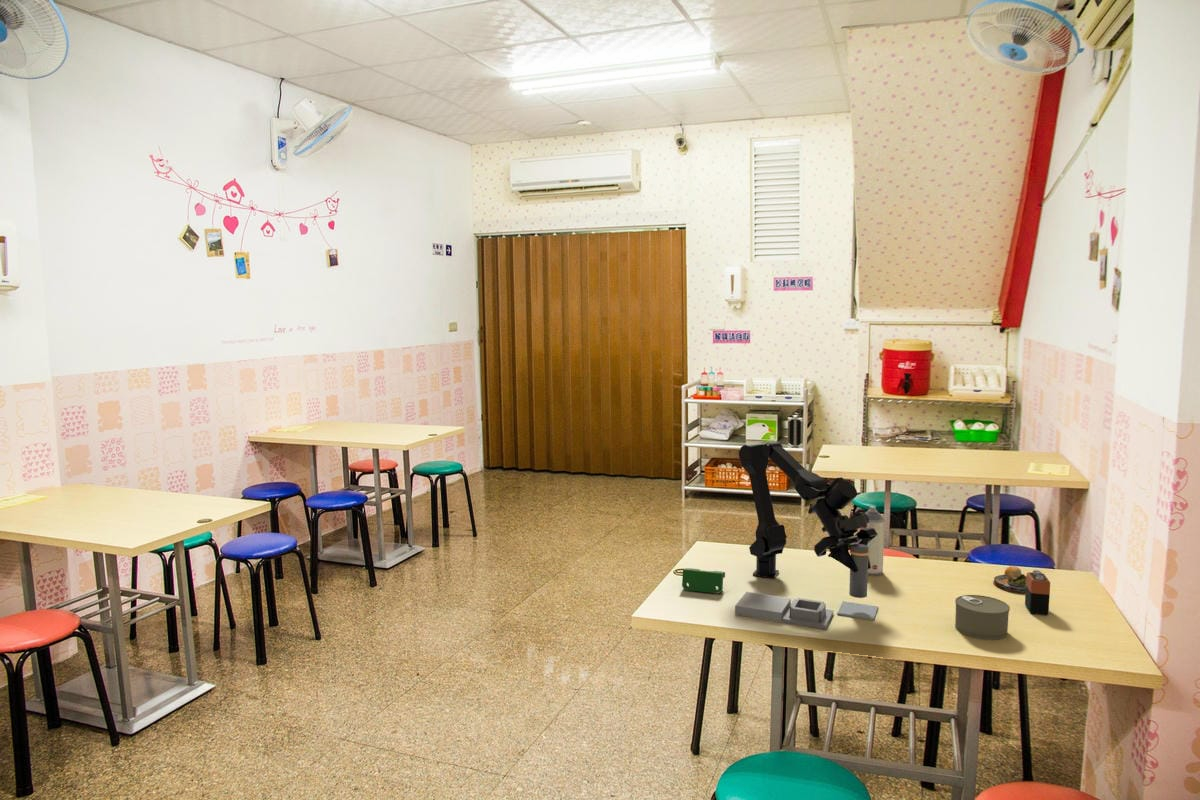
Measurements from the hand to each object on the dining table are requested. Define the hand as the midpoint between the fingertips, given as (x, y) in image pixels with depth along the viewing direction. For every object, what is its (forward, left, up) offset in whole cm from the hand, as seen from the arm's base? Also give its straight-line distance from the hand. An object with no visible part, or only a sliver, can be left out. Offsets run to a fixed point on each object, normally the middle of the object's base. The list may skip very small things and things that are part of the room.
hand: (863, 570), depth 204 cm
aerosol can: (-35, -2, -12) cm, 37 cm away
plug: (-1, -1, -7) cm, 7 cm away
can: (-1, +28, -12) cm, 30 cm away
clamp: (0, -43, -12) cm, 45 cm away
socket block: (+9, -18, -12) cm, 23 cm away
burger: (-39, +37, -12) cm, 55 cm away
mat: (-1, -1, -12) cm, 12 cm away
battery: (-21, +41, -12) cm, 47 cm away
